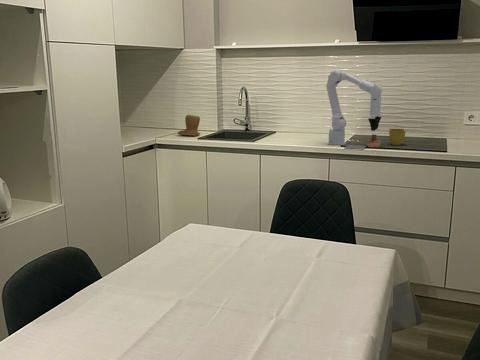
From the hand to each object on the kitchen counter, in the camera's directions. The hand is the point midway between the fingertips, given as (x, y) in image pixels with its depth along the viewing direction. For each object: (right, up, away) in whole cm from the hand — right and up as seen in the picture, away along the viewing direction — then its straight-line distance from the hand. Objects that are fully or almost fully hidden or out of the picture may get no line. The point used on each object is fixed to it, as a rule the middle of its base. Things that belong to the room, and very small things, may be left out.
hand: (374, 129), depth 284 cm
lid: (0, -7, +2) cm, 7 cm away
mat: (-11, -10, -1) cm, 15 cm away
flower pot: (+15, -8, +7) cm, 19 cm away
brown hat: (-114, +2, +62) cm, 130 cm away
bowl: (0, -10, +2) cm, 10 cm away
